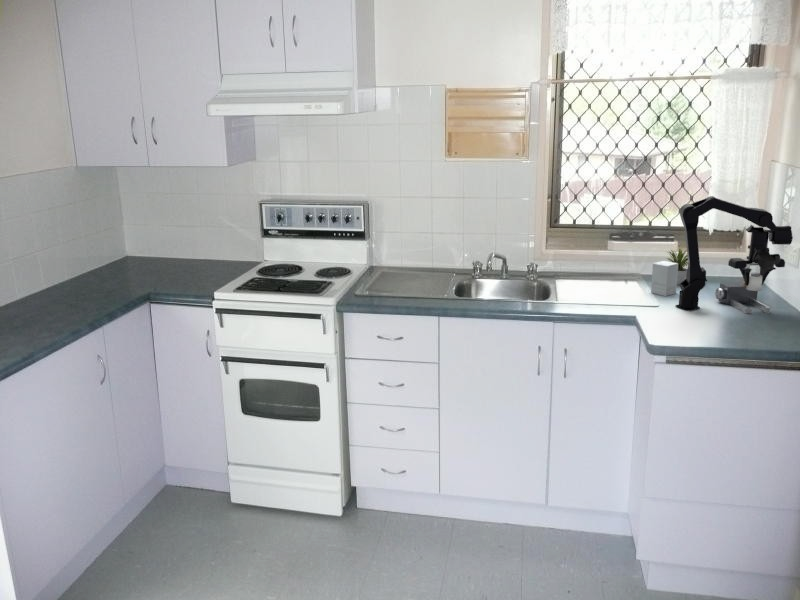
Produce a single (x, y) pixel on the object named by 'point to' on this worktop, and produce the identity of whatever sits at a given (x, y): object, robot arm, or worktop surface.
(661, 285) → the supplement box
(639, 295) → the worktop surface
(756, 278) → the bottle
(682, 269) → the house plant
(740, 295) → the motor clip
